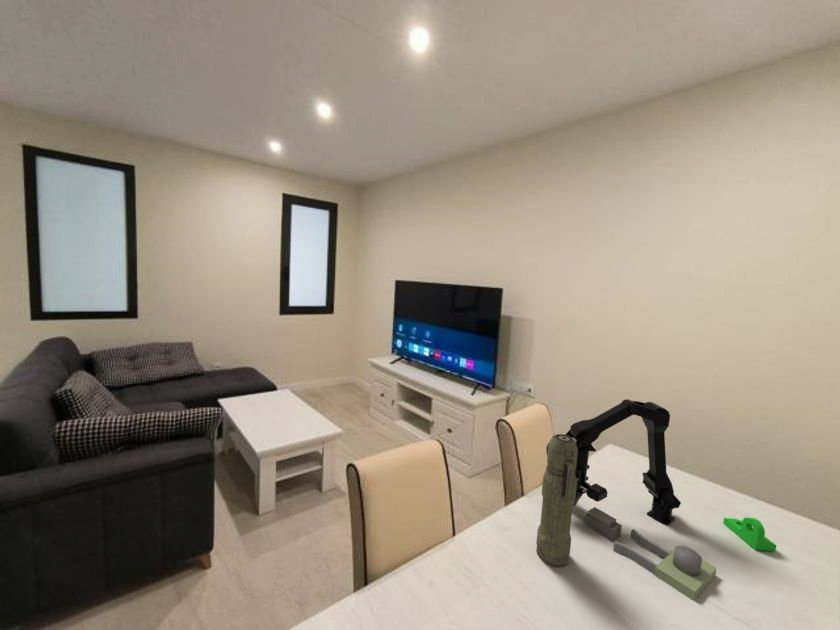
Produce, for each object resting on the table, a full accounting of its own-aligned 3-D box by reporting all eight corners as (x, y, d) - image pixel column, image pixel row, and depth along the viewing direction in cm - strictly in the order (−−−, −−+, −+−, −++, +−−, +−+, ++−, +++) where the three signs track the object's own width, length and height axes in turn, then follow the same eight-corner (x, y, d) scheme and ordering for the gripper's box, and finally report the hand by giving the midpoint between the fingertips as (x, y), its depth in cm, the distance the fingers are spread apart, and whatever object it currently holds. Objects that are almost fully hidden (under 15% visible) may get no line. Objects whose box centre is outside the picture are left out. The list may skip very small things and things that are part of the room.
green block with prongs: (638, 531, 114) (640, 512, 113) (715, 576, 97) (718, 554, 97) (611, 549, 105) (614, 529, 104) (692, 602, 88) (695, 578, 88)
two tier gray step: (592, 520, 118) (594, 505, 118) (620, 537, 111) (622, 521, 110) (584, 525, 115) (585, 510, 115) (612, 543, 108) (614, 527, 107)
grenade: (549, 574, 94) (562, 448, 91) (527, 542, 106) (538, 429, 103) (579, 571, 96) (592, 447, 93) (554, 539, 107) (566, 428, 104)
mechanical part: (775, 551, 109) (779, 526, 108) (755, 549, 109) (759, 525, 108) (740, 524, 121) (744, 502, 120) (723, 523, 121) (726, 501, 120)
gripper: (540, 454, 123) (536, 497, 125) (591, 481, 108) (586, 529, 109) (559, 448, 130) (555, 488, 131) (610, 472, 114) (605, 517, 116)
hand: (573, 504), depth 122 cm, fingers closed
